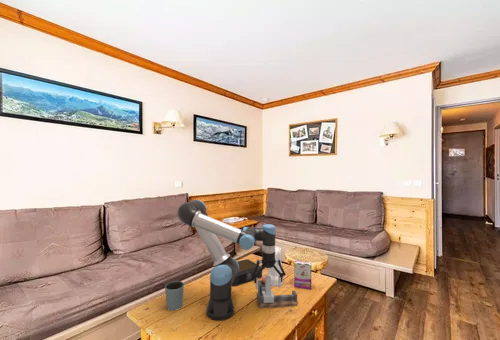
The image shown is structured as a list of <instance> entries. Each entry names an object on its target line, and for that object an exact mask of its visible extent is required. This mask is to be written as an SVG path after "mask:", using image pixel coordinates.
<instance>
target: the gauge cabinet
mask: <svg viewBox="0 0 500 340" xmlns="http://www.w3.org/2000/svg"><path fill="white" fill-rule="evenodd" d="M262 291H265V284H263V283H262V279H261V280H260V279H258V290H257V293H258V292H260V295H261V296H262Z"/></svg>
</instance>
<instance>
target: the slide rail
mask: <svg viewBox="0 0 500 340" xmlns="http://www.w3.org/2000/svg"><path fill="white" fill-rule="evenodd" d="M291 292H292V293H291V294H277V295H274V294H273V295H274V303H263V296H261V295H260V292H258V291H257V293H256V299H257V300H256V301H257V304H258V306H259V309H267V308H268V309H270V308H271V309H273V308H284V307H286V308H287V307H298V293H297V292H296V290H292V291H291Z"/></svg>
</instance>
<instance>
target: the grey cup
mask: <svg viewBox="0 0 500 340" xmlns="http://www.w3.org/2000/svg"><path fill="white" fill-rule="evenodd" d="M164 286H165V287H164V291H165V301H166V309H167V310H168V309H169V310H168V311H177V309H178V310H179V308H180V309H181V308H182V307H183V303H184V287H185V284H184V282H183V281H181V280H174V281H171V282H168V283H166V284H165V285H164Z"/></svg>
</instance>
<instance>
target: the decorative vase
mask: <svg viewBox="0 0 500 340" xmlns="http://www.w3.org/2000/svg"><path fill="white" fill-rule="evenodd" d="M277 259H280V261H281V266H282V268H283V264H282V247H279V246H278V245H275V260H277ZM274 265H275V266H276V268H277V269H278V270H279V271H280V272H281V273H282V271H281V269H280V267H279V265H278V264H277V262H276V263H275V264H274ZM267 269H268V270H267V271H268V272H267V276H271V287H272V286H273V287H278V275H279V274H278V273H277V271H276V270H275V269H274V268H273V267H272V268H267ZM283 269H284V268H283ZM283 284H284V276H283V277H282V282H281V286H282V285H283Z"/></svg>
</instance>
